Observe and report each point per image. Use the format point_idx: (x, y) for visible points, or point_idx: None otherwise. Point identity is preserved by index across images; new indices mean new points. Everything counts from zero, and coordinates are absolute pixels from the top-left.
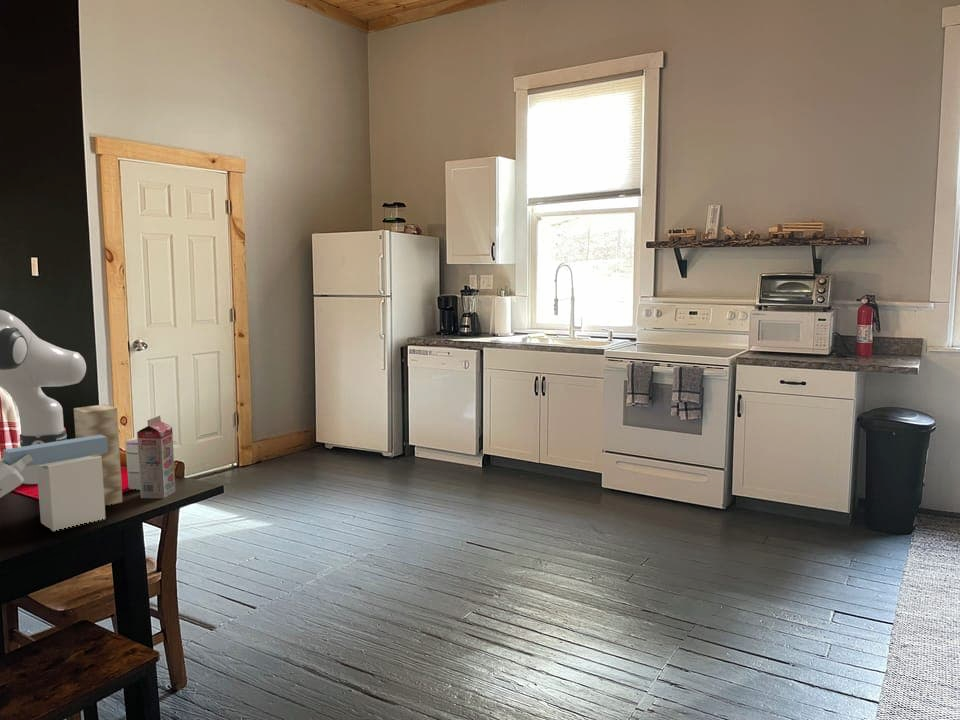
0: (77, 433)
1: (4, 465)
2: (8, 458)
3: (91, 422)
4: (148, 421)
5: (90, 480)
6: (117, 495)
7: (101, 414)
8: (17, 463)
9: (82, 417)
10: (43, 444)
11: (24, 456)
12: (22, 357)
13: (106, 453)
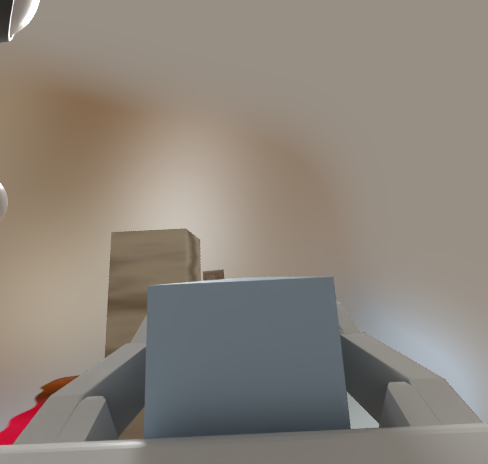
0: (123, 294)
1: (451, 456)
2: (333, 347)
3: (189, 256)
4: (222, 271)
5: None
6: None
7: (193, 243)
8: (423, 371)
9: (166, 244)
10: (228, 279)
11: (339, 314)
12: (29, 13)
13: None
